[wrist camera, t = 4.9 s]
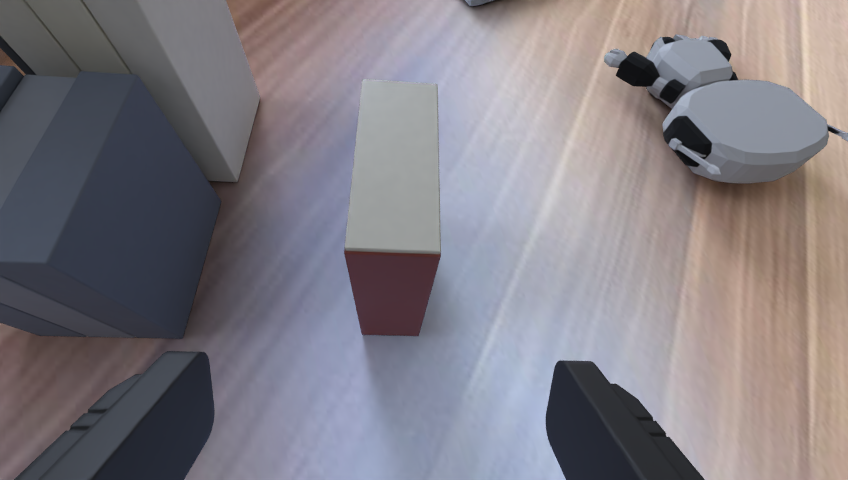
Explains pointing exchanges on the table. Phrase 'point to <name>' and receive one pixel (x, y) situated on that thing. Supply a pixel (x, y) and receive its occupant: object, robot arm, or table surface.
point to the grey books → (97, 209)
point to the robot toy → (724, 112)
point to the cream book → (394, 206)
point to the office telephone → (477, 2)
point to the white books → (149, 63)
